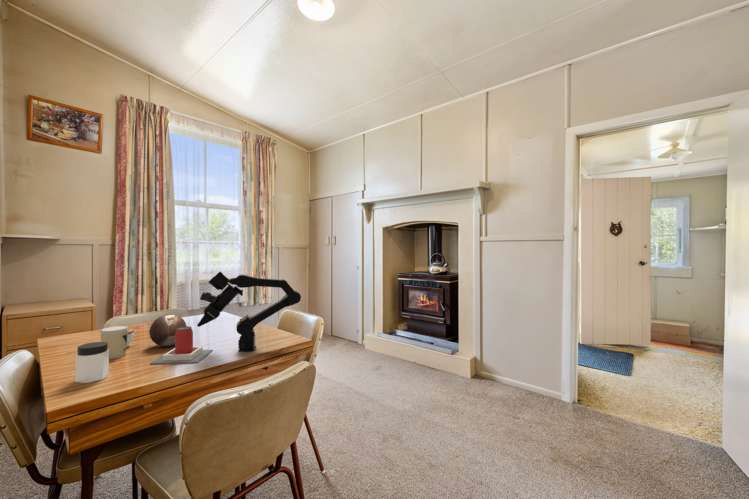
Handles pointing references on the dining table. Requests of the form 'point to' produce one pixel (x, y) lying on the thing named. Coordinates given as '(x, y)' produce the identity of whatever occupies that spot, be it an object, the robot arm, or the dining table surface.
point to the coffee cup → (115, 340)
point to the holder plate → (182, 357)
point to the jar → (92, 362)
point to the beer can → (184, 340)
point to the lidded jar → (129, 336)
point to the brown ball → (165, 329)
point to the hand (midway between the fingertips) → (199, 324)
